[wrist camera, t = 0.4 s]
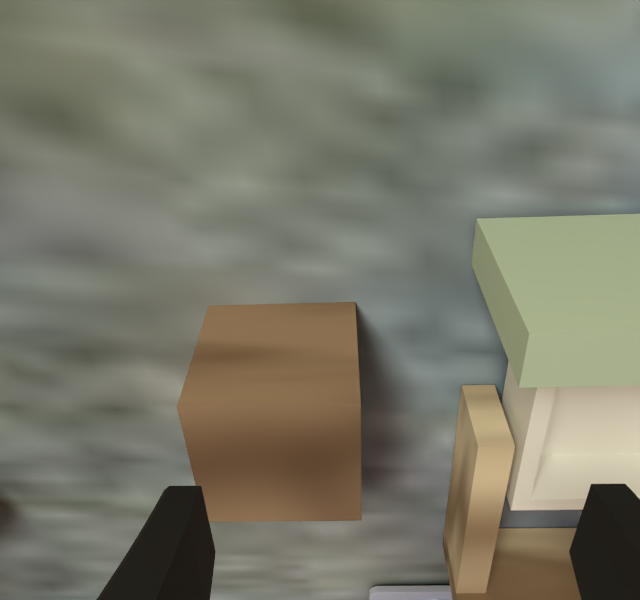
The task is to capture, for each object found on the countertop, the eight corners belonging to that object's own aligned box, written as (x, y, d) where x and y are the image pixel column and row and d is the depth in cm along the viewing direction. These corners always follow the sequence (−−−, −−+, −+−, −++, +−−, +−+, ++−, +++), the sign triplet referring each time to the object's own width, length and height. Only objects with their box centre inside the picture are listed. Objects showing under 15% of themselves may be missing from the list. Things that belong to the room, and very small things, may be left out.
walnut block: (356, 408, 23) (361, 520, 19) (227, 410, 23) (204, 522, 19) (355, 300, 20) (360, 403, 16) (209, 304, 20) (176, 406, 16)
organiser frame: (736, 540, 27) (794, 631, 23) (443, 543, 27) (458, 632, 24) (829, 378, 21) (921, 465, 18) (461, 385, 22) (484, 471, 19)
